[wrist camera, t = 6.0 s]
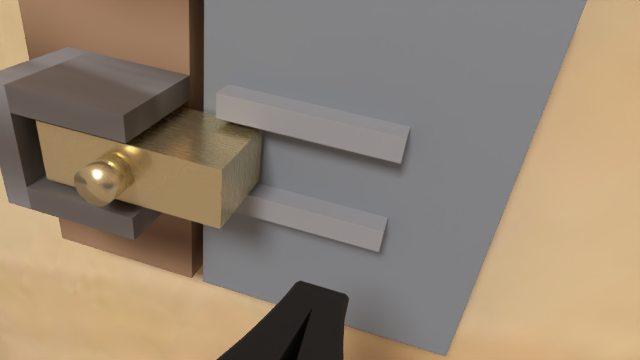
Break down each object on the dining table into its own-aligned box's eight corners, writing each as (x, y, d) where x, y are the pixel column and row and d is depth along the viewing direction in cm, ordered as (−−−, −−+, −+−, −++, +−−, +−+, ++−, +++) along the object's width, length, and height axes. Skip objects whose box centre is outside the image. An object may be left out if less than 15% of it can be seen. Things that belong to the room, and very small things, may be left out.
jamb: (210, 253, 26) (143, 341, 21) (88, 217, 27) (-4, 291, 22) (215, -88, 18) (105, -83, 12) (38, -118, 19) (-128, -125, 14)
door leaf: (448, 324, 24) (444, 374, 21) (220, 256, 26) (193, 294, 23) (581, -26, 16) (600, -11, 13) (231, -85, 18) (189, -83, 15)
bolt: (259, 179, 20) (203, 249, 16) (108, 139, 21) (21, 195, 17) (263, 126, 19) (204, 187, 15) (102, 87, 20) (7, 134, 16)
